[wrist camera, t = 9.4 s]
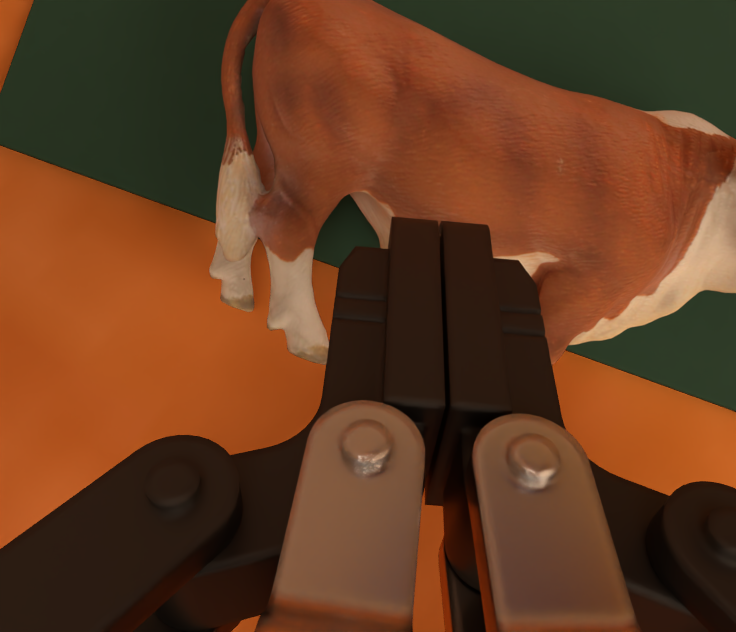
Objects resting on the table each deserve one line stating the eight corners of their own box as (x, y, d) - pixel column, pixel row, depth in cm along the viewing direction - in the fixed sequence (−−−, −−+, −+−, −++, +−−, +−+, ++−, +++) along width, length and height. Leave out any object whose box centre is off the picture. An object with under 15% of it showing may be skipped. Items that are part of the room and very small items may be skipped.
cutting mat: (-10, 141, 16) (-17, 138, 16) (138, -271, 16) (134, -282, 16) (807, 437, 16) (815, 440, 16) (954, 30, 16) (965, 26, 16)
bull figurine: (760, 560, 12) (970, 155, 11) (104, 282, 12) (268, -152, 11) (662, 478, 17) (809, 180, 16) (179, 273, 16) (301, -39, 16)
